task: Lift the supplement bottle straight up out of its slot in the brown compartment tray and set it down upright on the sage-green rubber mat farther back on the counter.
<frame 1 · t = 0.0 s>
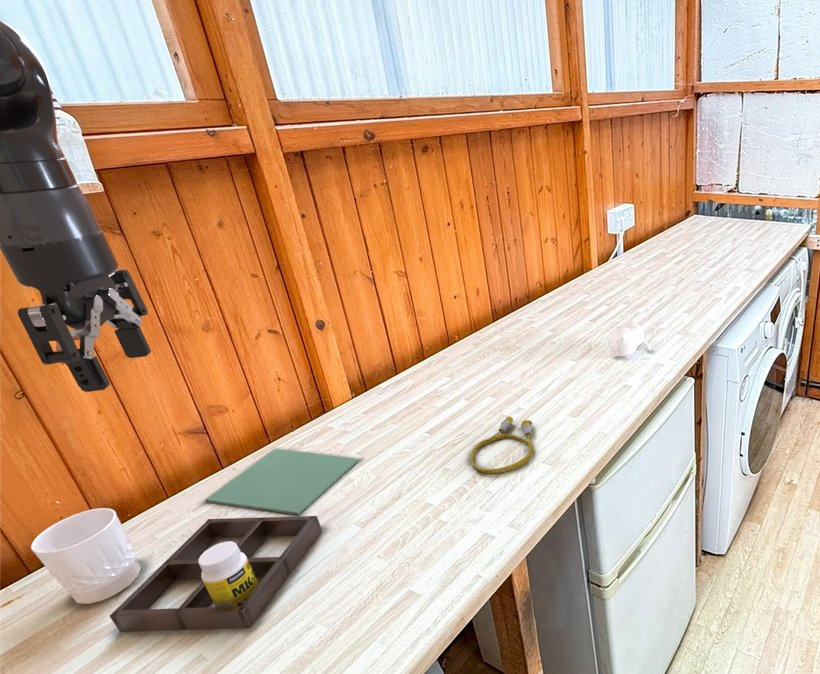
hand: (119, 371, 60), 32 cm above the worktop, tool pointing down, fingers open, 8 cm apart
extension cord: (507, 449, 99), on the worktop
cat figurine: (630, 353, 136), on the worktop
white cup: (109, 584, 72), on the worktop
supplement bottle: (240, 600, 70), resting in brown compartment tray
drying mat: (286, 480, 92), on the worktop
brown compartment tray: (231, 576, 73), on the worktop
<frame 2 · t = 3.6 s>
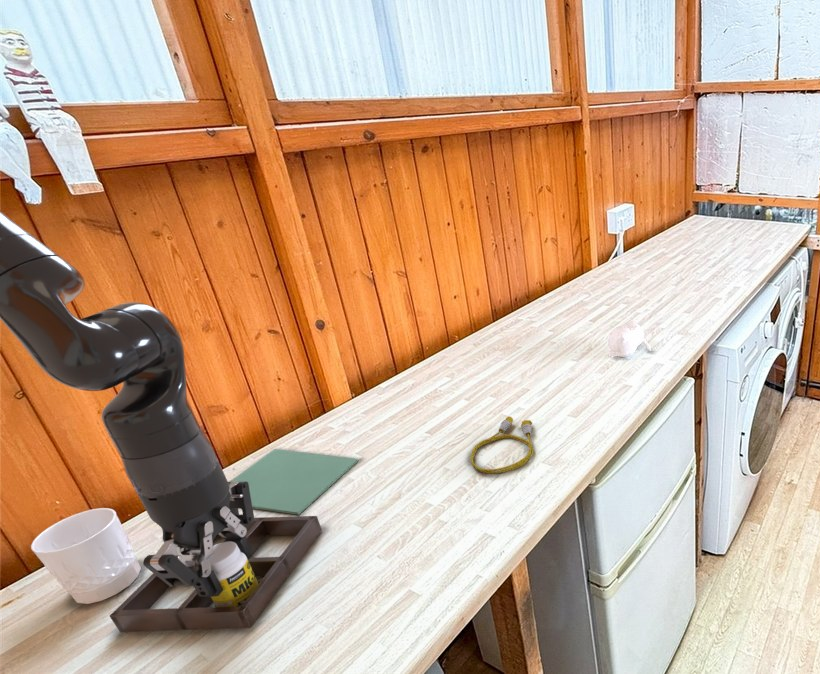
hand: (228, 575, 68), 4 cm above the worktop, tool pointing down, fingers closed on supplement bottle, 4 cm apart
supplement bottle: (240, 600, 70), resting in brown compartment tray, touching gripper
everything else where it was.
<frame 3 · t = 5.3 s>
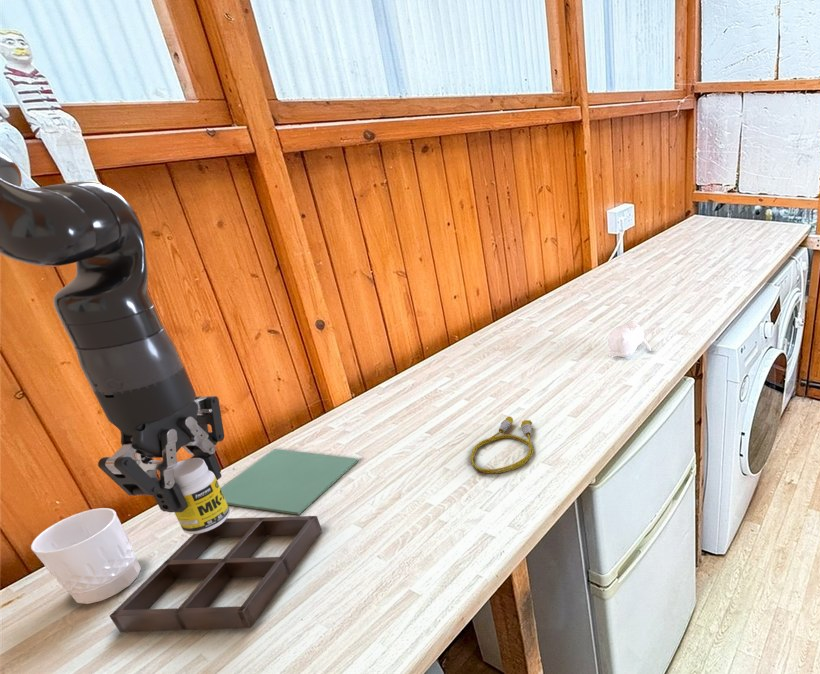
hand: (195, 494, 64), 17 cm above the worktop, tool pointing down, fingers closed on supplement bottle, 4 cm apart
supplement bottle: (208, 522, 66), point 12 cm above the worktop, touching gripper
everything else where it was.
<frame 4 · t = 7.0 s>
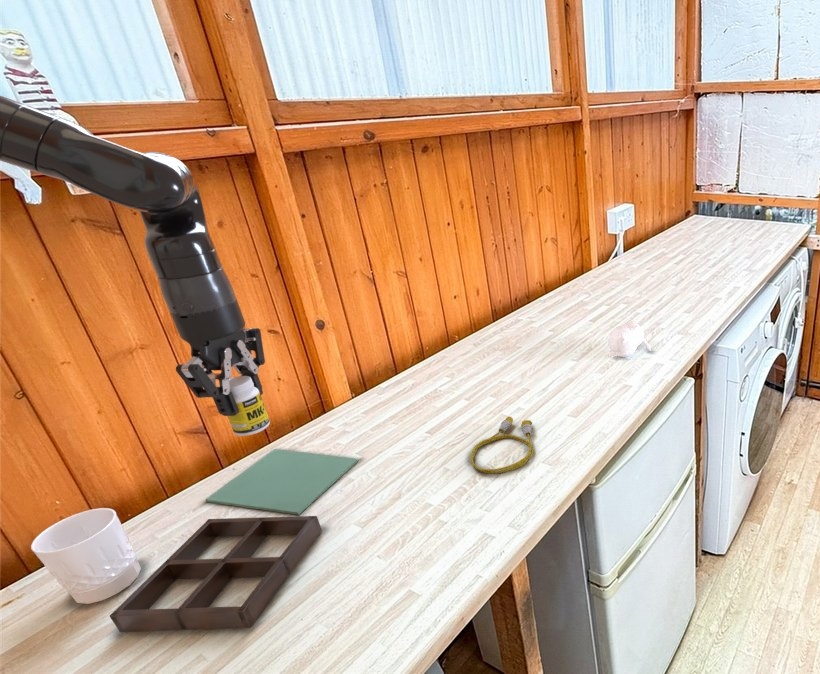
hand: (243, 404, 80), 18 cm above the worktop, tool pointing down, fingers closed on supplement bottle, 4 cm apart
supplement bottle: (253, 429, 82), point 14 cm above the worktop, touching gripper
everything else where it was.
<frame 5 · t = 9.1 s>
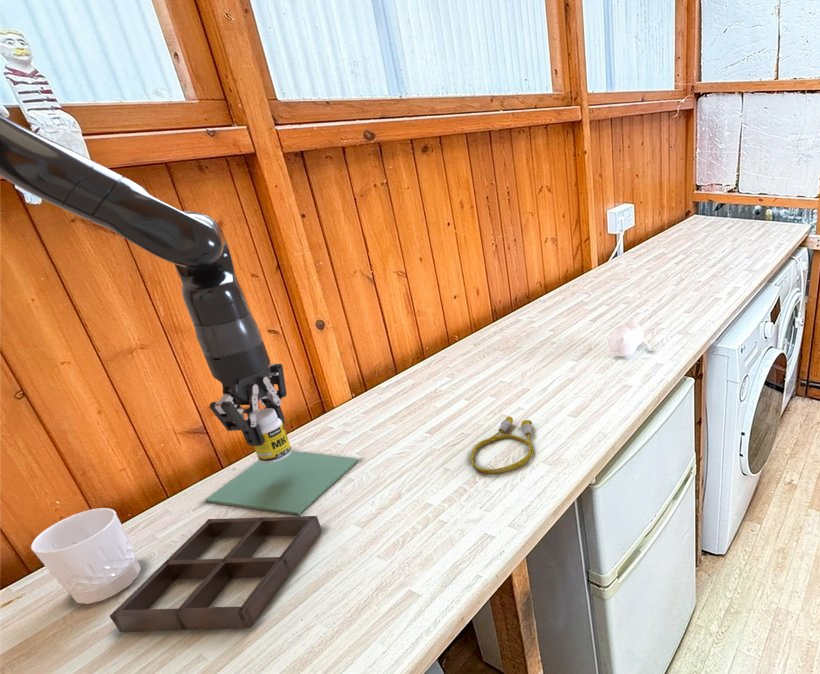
hand: (267, 434, 87), 10 cm above the worktop, tool pointing down, fingers closed on supplement bottle, 4 cm apart
supplement bottle: (276, 456, 89), point 5 cm above the worktop, touching gripper
everything else where it was.
when the fingers open (5 cm above the worktop, at t = 10.7 s): supplement bottle stays where it is, resting on drying mat.
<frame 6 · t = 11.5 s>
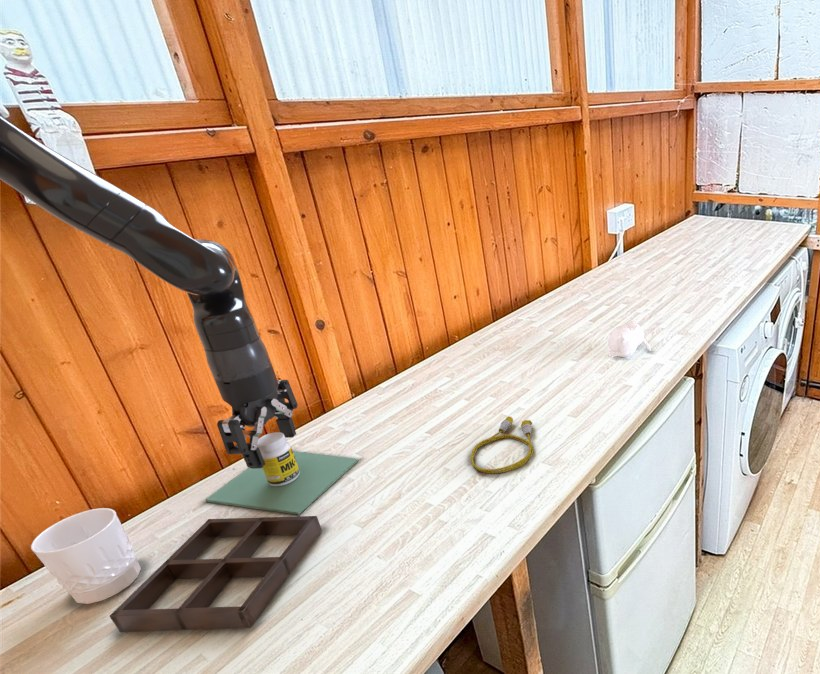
hand: (274, 451, 89), 6 cm above the worktop, tool pointing down, fingers open, 8 cm apart
supplement bottle: (285, 479, 91), resting on drying mat
everything else where it was.
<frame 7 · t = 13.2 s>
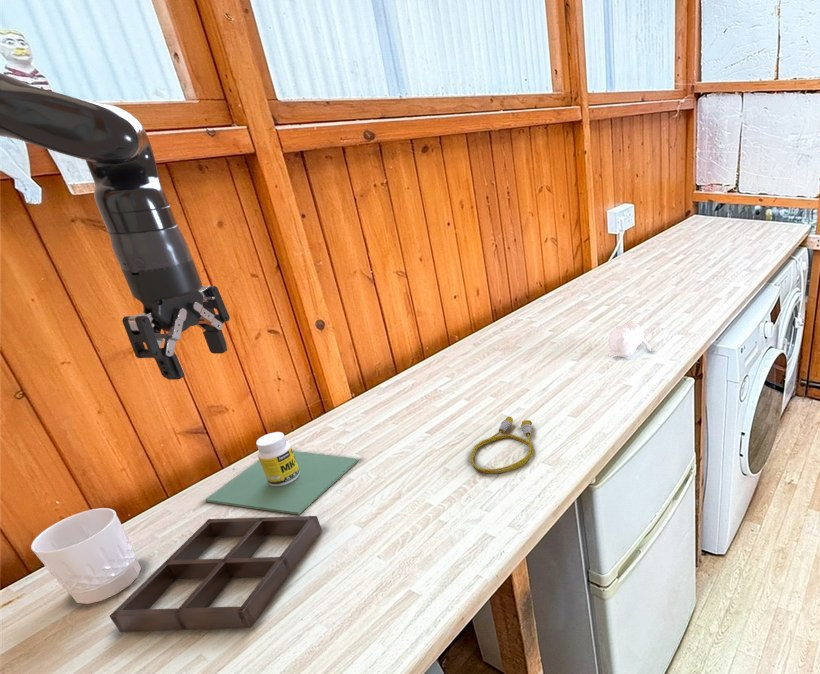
hand: (198, 364, 78), 25 cm above the worktop, tool pointing down, fingers open, 8 cm apart
nothing on the worktop moved.
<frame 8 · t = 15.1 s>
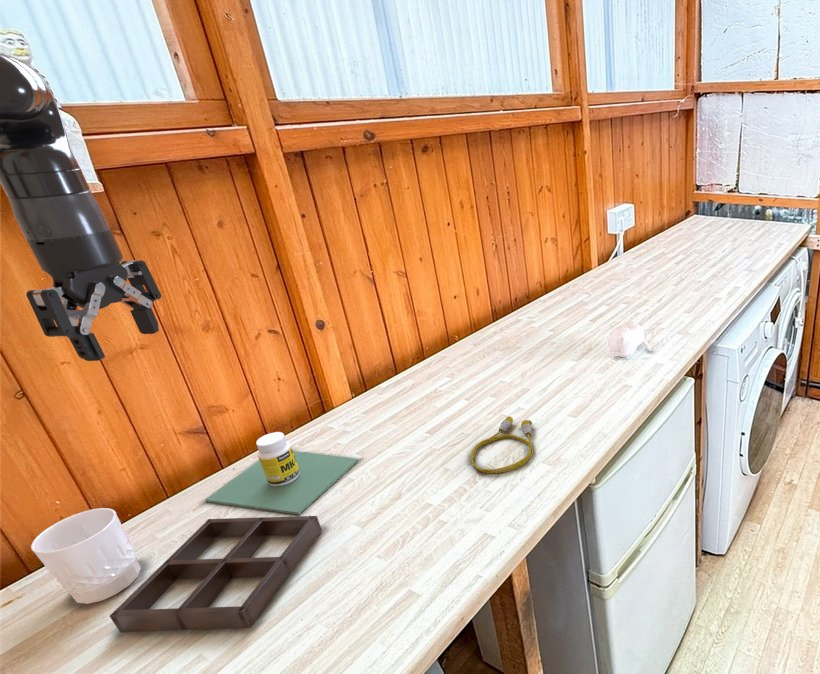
hand: (124, 345, 72), 30 cm above the worktop, tool pointing down, fingers open, 8 cm apart
nothing on the worktop moved.
at the end: supplement bottle inside the target area on the drying mat (0.0 cm from its centre), point 0.3 cm above the drying mat's base; supplement bottle tilted 0°; the gripper is holding nothing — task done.
